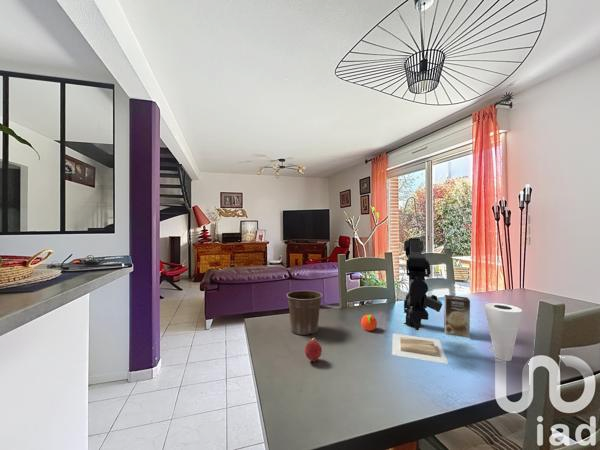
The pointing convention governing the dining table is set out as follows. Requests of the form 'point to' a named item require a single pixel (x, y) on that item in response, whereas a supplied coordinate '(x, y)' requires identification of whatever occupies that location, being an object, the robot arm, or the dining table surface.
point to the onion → (313, 350)
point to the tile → (418, 346)
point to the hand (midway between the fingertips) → (417, 329)
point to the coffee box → (457, 316)
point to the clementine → (368, 322)
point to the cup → (503, 328)
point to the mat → (397, 351)
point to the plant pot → (304, 311)
